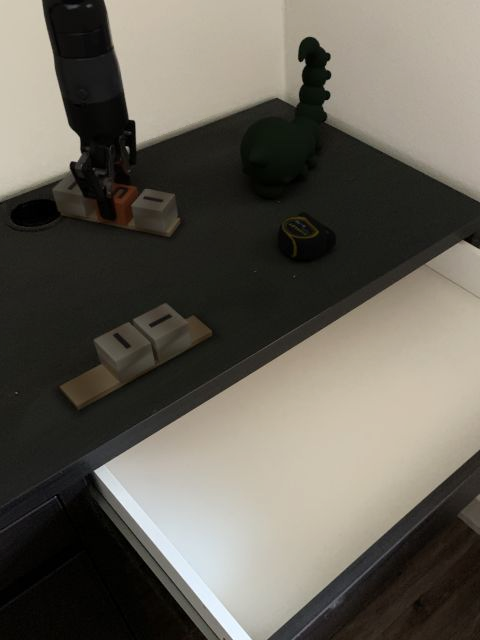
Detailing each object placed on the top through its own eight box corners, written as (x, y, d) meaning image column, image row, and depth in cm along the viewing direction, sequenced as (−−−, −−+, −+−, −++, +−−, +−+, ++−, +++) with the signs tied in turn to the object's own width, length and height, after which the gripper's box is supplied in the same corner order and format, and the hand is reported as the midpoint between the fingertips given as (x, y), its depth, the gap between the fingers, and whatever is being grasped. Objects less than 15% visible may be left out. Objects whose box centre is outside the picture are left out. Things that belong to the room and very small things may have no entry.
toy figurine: (287, 146, 113) (220, 208, 96) (293, 23, 100) (216, 69, 83) (339, 158, 111) (279, 224, 94) (352, 33, 98) (285, 84, 81)
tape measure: (337, 253, 91) (339, 229, 88) (298, 271, 88) (299, 248, 85) (306, 229, 94) (307, 206, 91) (267, 246, 91) (267, 223, 88)
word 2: (80, 412, 71) (70, 384, 68) (59, 389, 73) (48, 361, 70) (214, 337, 79) (211, 309, 76) (192, 318, 81) (188, 290, 78)
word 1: (59, 216, 95) (51, 189, 92) (75, 200, 98) (68, 172, 94) (169, 238, 92) (164, 211, 89) (181, 221, 95) (178, 193, 91)
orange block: (97, 219, 93) (92, 197, 90) (112, 203, 96) (107, 180, 93) (126, 225, 92) (122, 202, 90) (140, 208, 95) (136, 186, 93)
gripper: (92, 59, 86) (117, 179, 99) (32, 107, 77) (68, 232, 90) (145, 67, 85) (163, 187, 97) (90, 116, 76) (118, 242, 88)
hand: (117, 208), depth 94 cm, fingers closed on orange block, 4 cm apart
